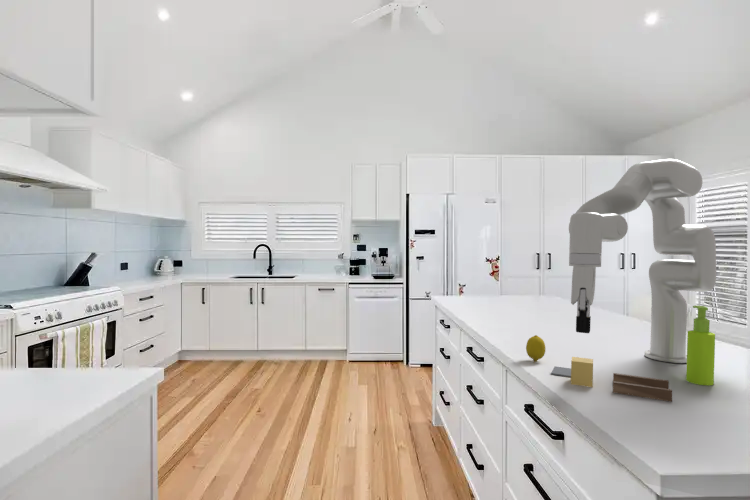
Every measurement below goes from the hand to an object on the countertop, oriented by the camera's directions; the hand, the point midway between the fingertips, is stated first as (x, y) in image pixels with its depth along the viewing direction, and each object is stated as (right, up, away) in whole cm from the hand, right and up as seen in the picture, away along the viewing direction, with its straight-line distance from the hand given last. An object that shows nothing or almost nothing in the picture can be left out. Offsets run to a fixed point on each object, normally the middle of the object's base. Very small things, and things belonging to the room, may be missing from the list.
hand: (583, 331), depth 116 cm
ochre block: (0, -13, 0) cm, 13 cm away
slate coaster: (0, -13, +9) cm, 16 cm away
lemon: (-5, -13, +21) cm, 25 cm away
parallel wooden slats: (+11, -14, -6) cm, 19 cm away
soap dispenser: (+32, -14, +3) cm, 35 cm away
